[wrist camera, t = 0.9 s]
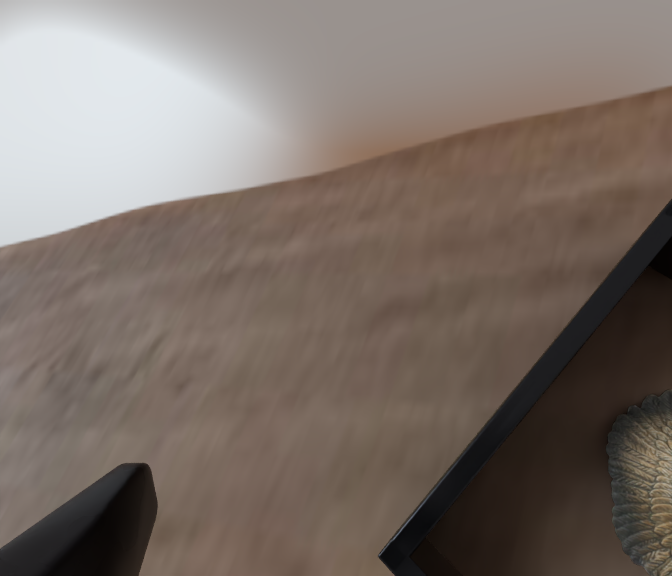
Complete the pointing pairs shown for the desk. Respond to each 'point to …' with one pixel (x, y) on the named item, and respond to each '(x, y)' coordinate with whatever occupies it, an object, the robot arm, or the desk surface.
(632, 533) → the eagle figurine
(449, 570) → the desk tidy
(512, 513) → the desk surface
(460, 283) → the desk surface
